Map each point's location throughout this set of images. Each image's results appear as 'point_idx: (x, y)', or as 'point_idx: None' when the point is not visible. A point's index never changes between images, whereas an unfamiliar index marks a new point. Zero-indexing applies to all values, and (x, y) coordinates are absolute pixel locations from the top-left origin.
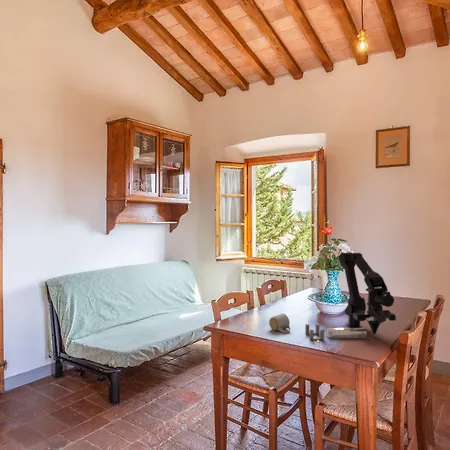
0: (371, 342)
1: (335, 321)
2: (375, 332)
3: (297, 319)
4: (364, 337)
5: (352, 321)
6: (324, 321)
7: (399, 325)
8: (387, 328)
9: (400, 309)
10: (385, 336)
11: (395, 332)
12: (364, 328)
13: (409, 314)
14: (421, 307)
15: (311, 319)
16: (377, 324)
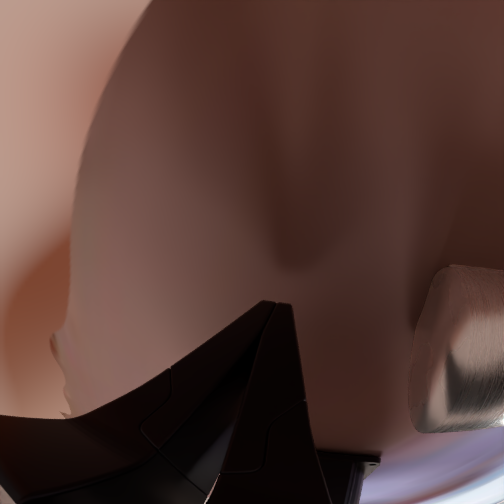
0: (467, 26)
1: (378, 493)
2: (255, 316)
3: (499, 485)
4: (464, 266)
5: (350, 501)
6: (429, 491)
7: (80, 383)
8: (123, 387)
9: None
10: (143, 264)
11: (79, 324)
12: (470, 409)
13: (76, 414)
14: (67, 418)
15: (456, 494)
16: (133, 441)
